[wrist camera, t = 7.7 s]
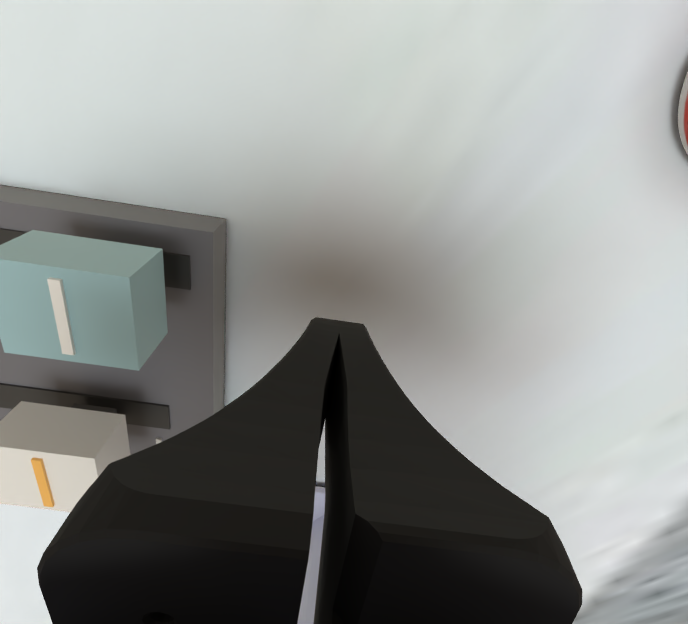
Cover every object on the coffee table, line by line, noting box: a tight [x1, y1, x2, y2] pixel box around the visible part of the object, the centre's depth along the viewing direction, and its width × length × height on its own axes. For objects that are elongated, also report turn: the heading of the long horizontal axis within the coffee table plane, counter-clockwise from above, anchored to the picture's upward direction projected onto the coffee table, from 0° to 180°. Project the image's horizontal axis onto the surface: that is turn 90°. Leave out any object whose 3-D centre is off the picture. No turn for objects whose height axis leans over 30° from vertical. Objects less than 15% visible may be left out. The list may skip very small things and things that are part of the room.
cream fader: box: [0, 401, 130, 512], centre depth 15 cm, size 3×4×3 cm
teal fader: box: [0, 230, 168, 371], centre depth 12 cm, size 3×4×3 cm
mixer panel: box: [0, 185, 226, 455], centre depth 17 cm, size 11×14×2 cm
